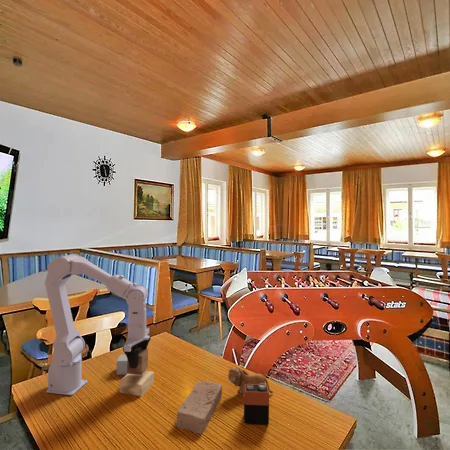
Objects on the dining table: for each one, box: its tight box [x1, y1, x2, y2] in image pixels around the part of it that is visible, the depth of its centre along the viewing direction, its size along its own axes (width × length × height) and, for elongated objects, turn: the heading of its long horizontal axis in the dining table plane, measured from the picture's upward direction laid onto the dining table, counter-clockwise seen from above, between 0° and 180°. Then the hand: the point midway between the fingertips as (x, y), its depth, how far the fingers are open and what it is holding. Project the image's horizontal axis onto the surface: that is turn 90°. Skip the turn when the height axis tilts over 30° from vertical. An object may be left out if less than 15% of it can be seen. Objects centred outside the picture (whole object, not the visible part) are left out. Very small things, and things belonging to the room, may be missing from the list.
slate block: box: [116, 353, 127, 376], centre depth 106 cm, size 5×5×5 cm
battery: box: [243, 383, 270, 426], centre depth 81 cm, size 4×7×10 cm, turn 87°
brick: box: [175, 380, 223, 435], centre depth 84 cm, size 17×8×5 cm, turn 163°
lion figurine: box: [227, 366, 274, 398], centre depth 92 cm, size 15×5×9 cm, turn 94°
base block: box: [119, 370, 155, 397], centre depth 96 cm, size 8×8×4 cm
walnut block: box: [126, 349, 149, 375], centre depth 96 cm, size 5×5×6 cm
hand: (137, 363), depth 96 cm, fingers closed on walnut block, 5 cm apart
